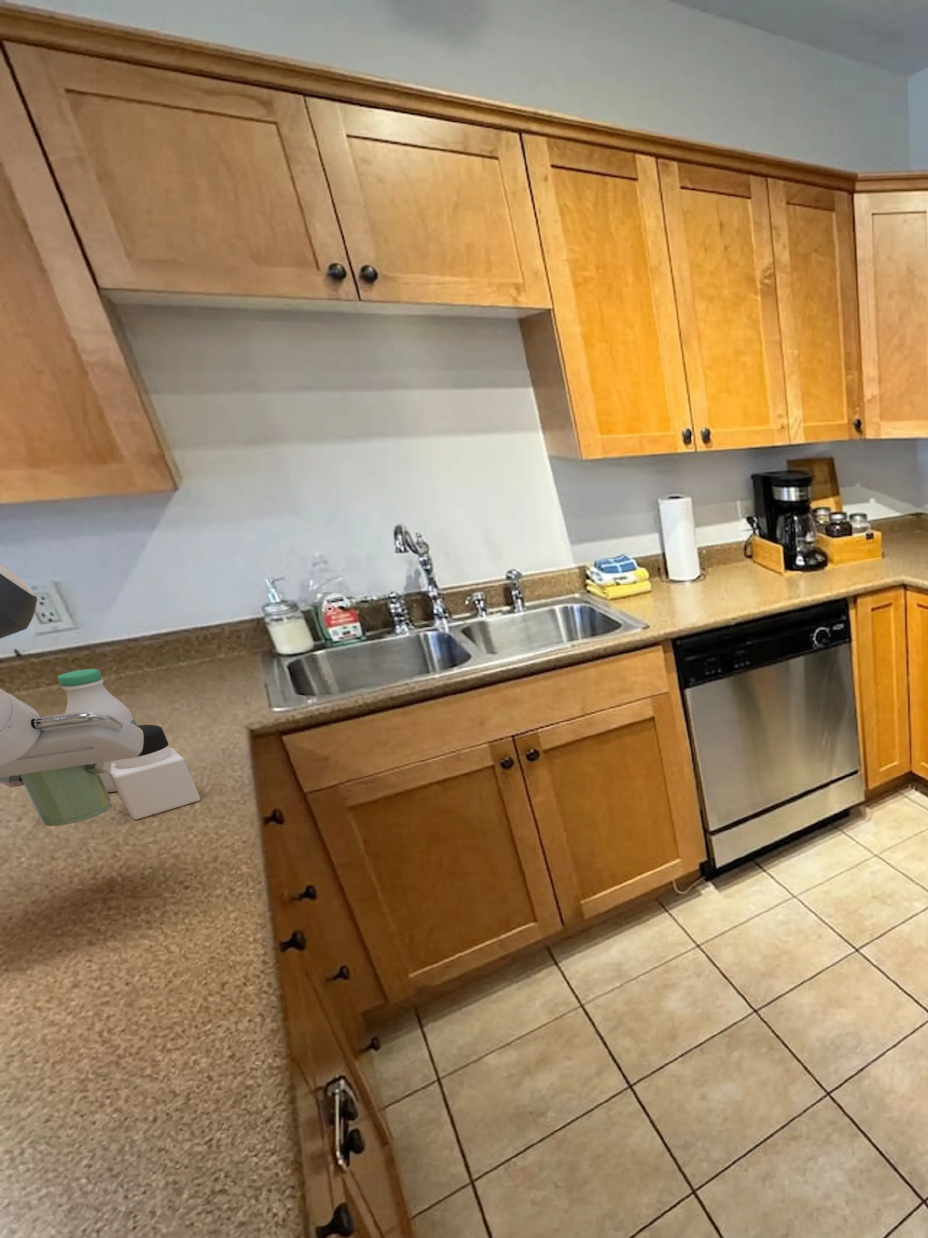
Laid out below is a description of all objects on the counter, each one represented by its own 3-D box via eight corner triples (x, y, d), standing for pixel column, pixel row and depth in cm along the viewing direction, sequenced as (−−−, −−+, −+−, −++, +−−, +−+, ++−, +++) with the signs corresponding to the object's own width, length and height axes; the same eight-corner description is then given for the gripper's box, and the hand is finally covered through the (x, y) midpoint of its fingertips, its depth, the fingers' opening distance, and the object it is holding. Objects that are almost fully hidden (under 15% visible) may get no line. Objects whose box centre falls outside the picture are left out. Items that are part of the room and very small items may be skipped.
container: (189, 788, 122) (159, 716, 118) (201, 800, 118) (170, 726, 113) (124, 807, 116) (89, 732, 112) (134, 821, 112) (99, 743, 108)
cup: (37, 831, 89) (0, 757, 86) (50, 812, 94) (15, 741, 90) (107, 815, 93) (74, 743, 89) (116, 798, 97) (85, 729, 94)
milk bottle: (101, 798, 120) (47, 683, 113) (89, 786, 124) (37, 675, 117) (165, 779, 126) (117, 669, 119) (152, 769, 130) (105, 662, 123)
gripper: (106, 688, 86) (172, 736, 97) (-156, 720, 77) (-49, 767, 89) (102, 736, 84) (170, 779, 95) (-169, 774, 75) (-57, 816, 87)
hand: (63, 774), depth 92 cm, fingers closed on cup, 6 cm apart
